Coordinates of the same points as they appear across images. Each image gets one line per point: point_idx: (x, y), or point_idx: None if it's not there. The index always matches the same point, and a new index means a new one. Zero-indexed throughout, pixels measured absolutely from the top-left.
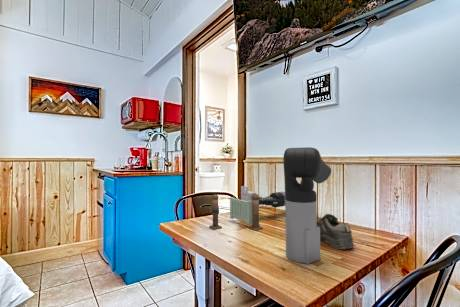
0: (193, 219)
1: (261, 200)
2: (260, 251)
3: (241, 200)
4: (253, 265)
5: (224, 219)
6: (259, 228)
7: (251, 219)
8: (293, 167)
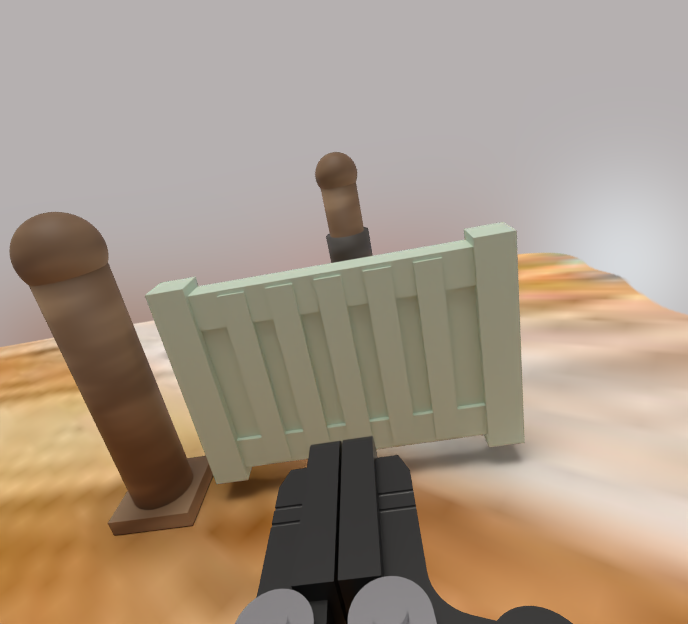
0: (627, 303)
1: (303, 607)
2: (13, 391)
3: (299, 270)
4: (11, 356)
5: (580, 420)
6: (125, 502)
7: (206, 445)
8: None
